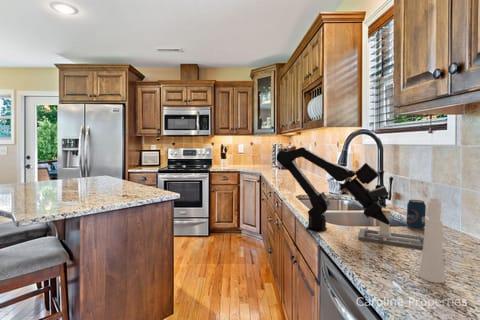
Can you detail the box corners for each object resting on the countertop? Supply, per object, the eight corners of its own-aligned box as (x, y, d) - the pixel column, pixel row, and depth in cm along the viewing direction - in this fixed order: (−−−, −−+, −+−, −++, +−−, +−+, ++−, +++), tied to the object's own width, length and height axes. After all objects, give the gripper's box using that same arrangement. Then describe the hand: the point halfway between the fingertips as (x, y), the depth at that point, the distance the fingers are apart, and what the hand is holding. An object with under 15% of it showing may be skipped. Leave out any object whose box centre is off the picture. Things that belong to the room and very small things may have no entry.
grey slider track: (358, 239, 104) (358, 232, 104) (360, 231, 115) (360, 224, 115) (434, 251, 94) (434, 242, 93) (428, 240, 104) (428, 232, 104)
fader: (378, 236, 105) (378, 209, 104) (377, 233, 108) (378, 207, 108) (391, 238, 103) (392, 211, 102) (390, 235, 106) (391, 209, 106)
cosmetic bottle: (413, 275, 76) (416, 196, 75) (427, 271, 78) (430, 195, 77) (436, 285, 70) (440, 200, 69) (450, 280, 73) (454, 199, 72)
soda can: (402, 226, 123) (403, 200, 123) (412, 224, 126) (413, 198, 126) (418, 230, 117) (419, 202, 116) (428, 228, 120) (429, 201, 119)
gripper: (375, 181, 98) (409, 215, 94) (375, 176, 115) (404, 205, 110) (350, 200, 102) (382, 234, 98) (354, 193, 119) (381, 221, 114)
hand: (388, 222), depth 105 cm, fingers closed on fader, 3 cm apart
